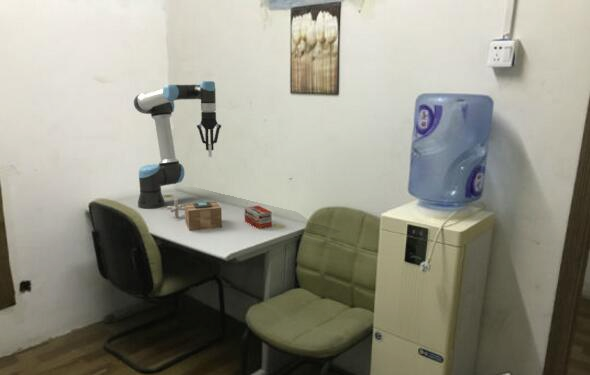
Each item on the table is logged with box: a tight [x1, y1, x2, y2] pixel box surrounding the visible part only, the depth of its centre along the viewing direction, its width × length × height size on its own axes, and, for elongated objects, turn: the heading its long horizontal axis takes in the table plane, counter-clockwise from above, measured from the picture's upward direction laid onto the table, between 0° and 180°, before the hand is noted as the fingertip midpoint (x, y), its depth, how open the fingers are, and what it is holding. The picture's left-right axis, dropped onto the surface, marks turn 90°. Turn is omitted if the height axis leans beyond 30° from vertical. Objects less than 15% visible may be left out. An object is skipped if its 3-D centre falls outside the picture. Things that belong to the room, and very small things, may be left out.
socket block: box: [184, 200, 223, 231], centre depth 229 cm, size 14×16×10 cm
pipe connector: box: [166, 198, 185, 219], centre depth 241 cm, size 10×10×10 cm
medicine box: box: [244, 205, 273, 229], centre depth 231 cm, size 15×8×8 cm, turn 33°
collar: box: [192, 201, 212, 209], centre depth 228 cm, size 8×8×1 cm
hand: (209, 156), depth 241 cm, fingers closed
